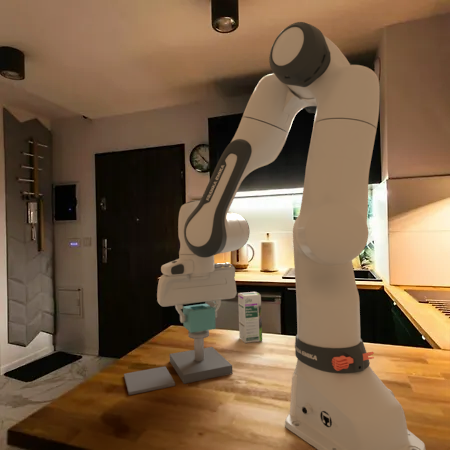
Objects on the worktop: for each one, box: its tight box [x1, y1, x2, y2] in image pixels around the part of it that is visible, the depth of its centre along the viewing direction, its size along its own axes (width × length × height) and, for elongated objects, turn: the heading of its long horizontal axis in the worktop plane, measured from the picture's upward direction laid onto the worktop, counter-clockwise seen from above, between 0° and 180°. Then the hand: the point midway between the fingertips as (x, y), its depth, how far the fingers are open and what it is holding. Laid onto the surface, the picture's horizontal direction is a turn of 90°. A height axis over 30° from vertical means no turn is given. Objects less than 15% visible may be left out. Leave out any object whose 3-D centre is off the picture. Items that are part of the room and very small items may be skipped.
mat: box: [123, 365, 176, 396], centre depth 77 cm, size 10×10×1 cm
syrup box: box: [237, 291, 263, 344], centre depth 103 cm, size 6×6×14 cm
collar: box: [182, 303, 217, 333], centre depth 83 cm, size 6×6×5 cm
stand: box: [169, 330, 233, 385], centre depth 83 cm, size 14×12×14 cm
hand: (199, 319), depth 83 cm, fingers closed on collar, 6 cm apart
